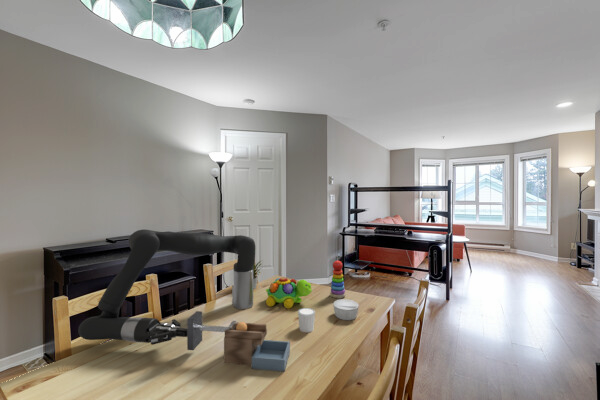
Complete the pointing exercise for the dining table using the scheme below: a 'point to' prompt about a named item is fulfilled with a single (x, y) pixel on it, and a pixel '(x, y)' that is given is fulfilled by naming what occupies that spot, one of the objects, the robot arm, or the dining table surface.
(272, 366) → the blue square tray
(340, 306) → the ramekin
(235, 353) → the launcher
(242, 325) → the ball
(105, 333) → the robot arm
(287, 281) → the turtle toy
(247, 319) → the dining table surface
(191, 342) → the pusher
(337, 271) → the stacking toy
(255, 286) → the house plant
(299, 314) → the white cup
